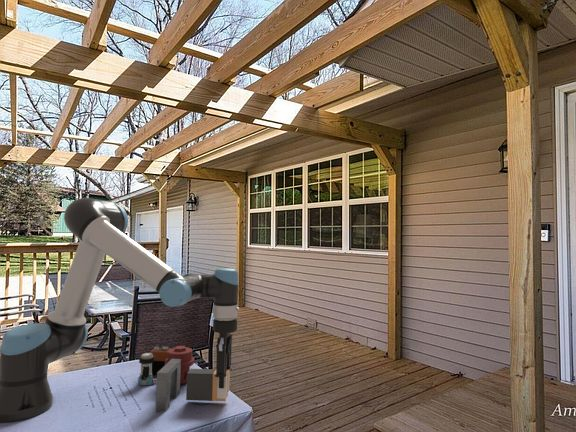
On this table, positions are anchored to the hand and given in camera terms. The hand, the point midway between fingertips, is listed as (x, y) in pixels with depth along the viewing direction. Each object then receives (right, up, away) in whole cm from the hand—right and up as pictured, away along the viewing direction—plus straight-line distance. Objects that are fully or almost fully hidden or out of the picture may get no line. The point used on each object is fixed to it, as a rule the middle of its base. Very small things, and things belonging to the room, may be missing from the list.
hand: (223, 394), depth 114 cm
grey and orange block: (-5, -1, 0) cm, 5 cm away
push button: (-29, -3, +14) cm, 32 cm away
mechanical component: (-18, -4, +15) cm, 24 cm away
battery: (-28, -4, +23) cm, 36 cm away
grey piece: (-17, -2, 0) cm, 17 cm away
